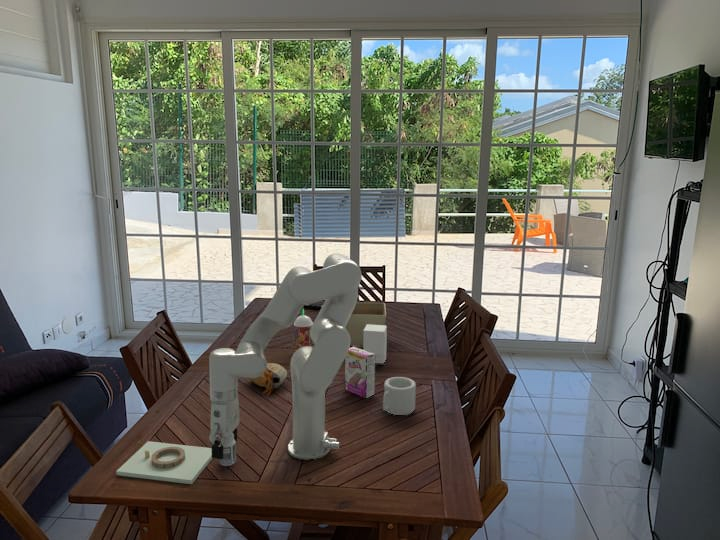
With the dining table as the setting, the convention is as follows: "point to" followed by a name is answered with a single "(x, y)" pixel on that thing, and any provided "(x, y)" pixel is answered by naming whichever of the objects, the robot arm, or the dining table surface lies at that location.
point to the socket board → (167, 462)
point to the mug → (399, 396)
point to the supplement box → (375, 341)
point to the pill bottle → (228, 451)
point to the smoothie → (302, 331)
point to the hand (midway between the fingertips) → (224, 449)
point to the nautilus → (271, 377)
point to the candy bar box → (360, 372)
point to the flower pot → (364, 320)
